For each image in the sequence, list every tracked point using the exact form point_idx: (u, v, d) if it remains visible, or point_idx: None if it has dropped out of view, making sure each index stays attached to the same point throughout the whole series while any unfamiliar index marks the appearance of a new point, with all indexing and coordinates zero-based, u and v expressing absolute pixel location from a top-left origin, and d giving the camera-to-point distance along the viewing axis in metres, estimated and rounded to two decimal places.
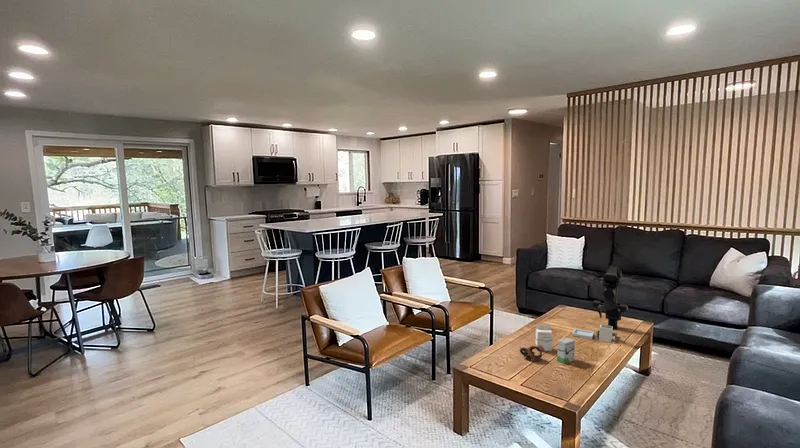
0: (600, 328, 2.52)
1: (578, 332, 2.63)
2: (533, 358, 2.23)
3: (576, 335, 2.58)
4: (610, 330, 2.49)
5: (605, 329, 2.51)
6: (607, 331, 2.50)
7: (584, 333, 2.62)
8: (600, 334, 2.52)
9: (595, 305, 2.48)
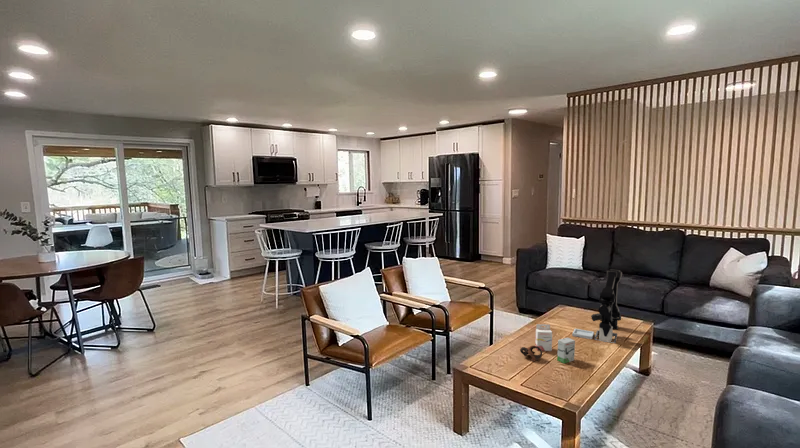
0: (600, 328, 2.52)
1: (578, 332, 2.63)
2: (533, 358, 2.24)
3: (576, 335, 2.58)
4: (610, 330, 2.49)
5: None
6: None
7: (584, 333, 2.62)
8: (600, 334, 2.52)
9: None
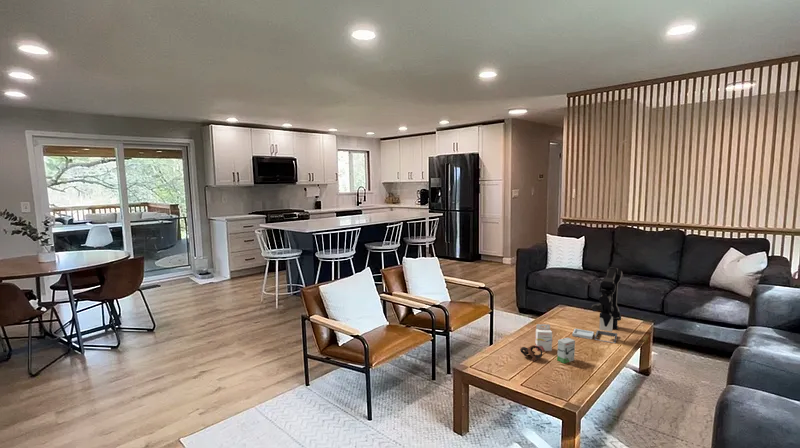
0: (600, 318, 2.51)
1: (578, 332, 2.63)
2: (534, 357, 2.24)
3: (576, 335, 2.58)
4: (610, 320, 2.48)
5: None
6: None
7: (584, 333, 2.62)
8: (601, 324, 2.52)
9: None
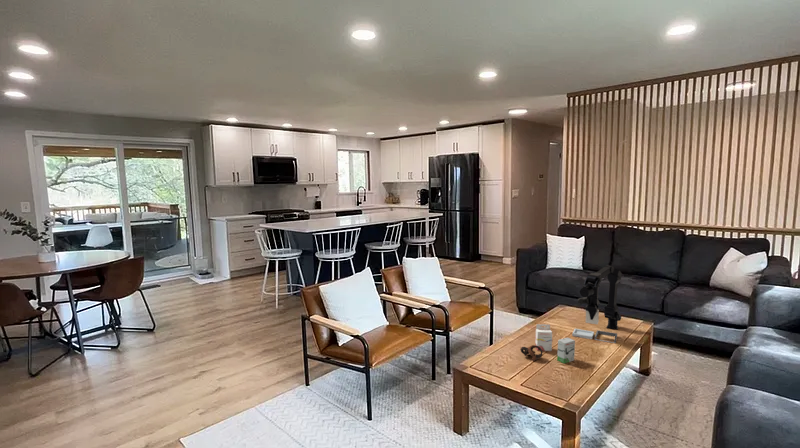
0: (586, 311, 2.55)
1: (578, 332, 2.63)
2: (534, 357, 2.24)
3: (576, 335, 2.58)
4: (596, 313, 2.52)
5: None
6: None
7: (584, 333, 2.62)
8: (587, 317, 2.55)
9: None
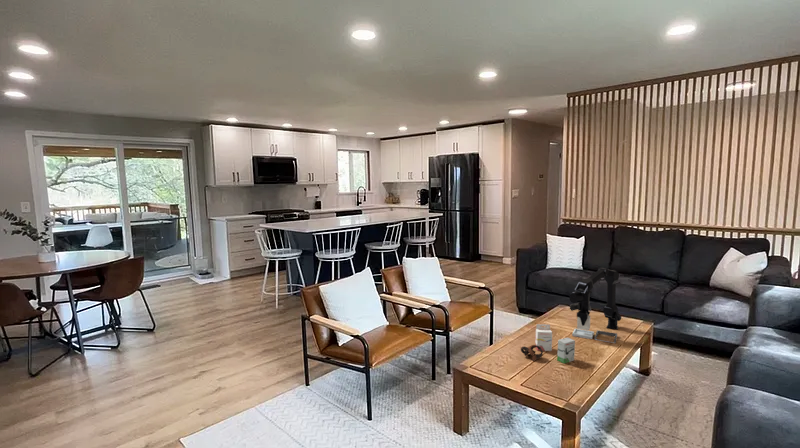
0: (578, 317, 2.59)
1: (578, 332, 2.63)
2: (534, 357, 2.25)
3: (576, 335, 2.58)
4: (587, 319, 2.56)
5: None
6: None
7: (584, 333, 2.62)
8: (578, 323, 2.59)
9: None
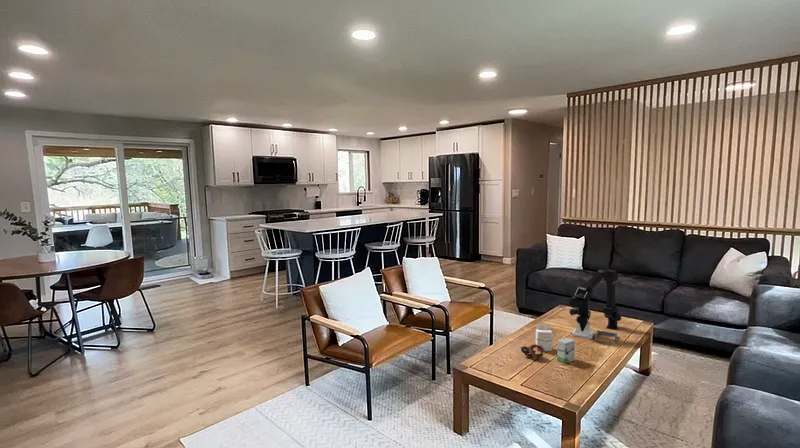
0: (578, 323, 2.59)
1: None
2: (534, 356, 2.25)
3: (576, 335, 2.58)
4: (587, 325, 2.56)
5: None
6: None
7: None
8: (578, 329, 2.59)
9: None
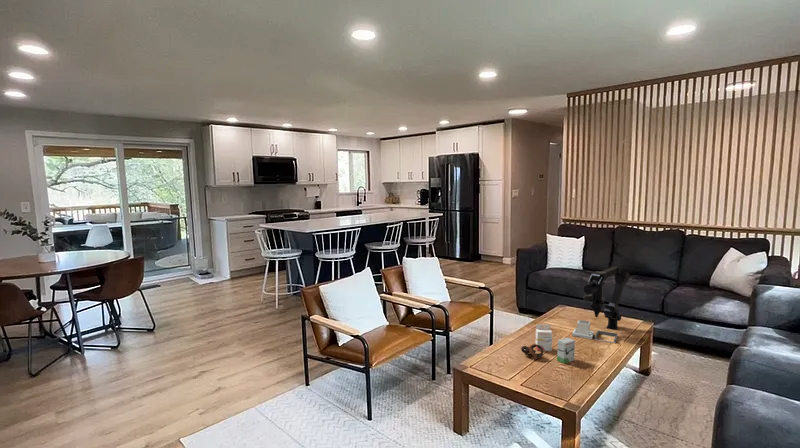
0: (578, 323, 2.59)
1: None
2: (535, 356, 2.26)
3: (576, 335, 2.58)
4: (587, 325, 2.56)
5: (582, 324, 2.58)
6: (584, 326, 2.57)
7: None
8: (578, 329, 2.59)
9: None
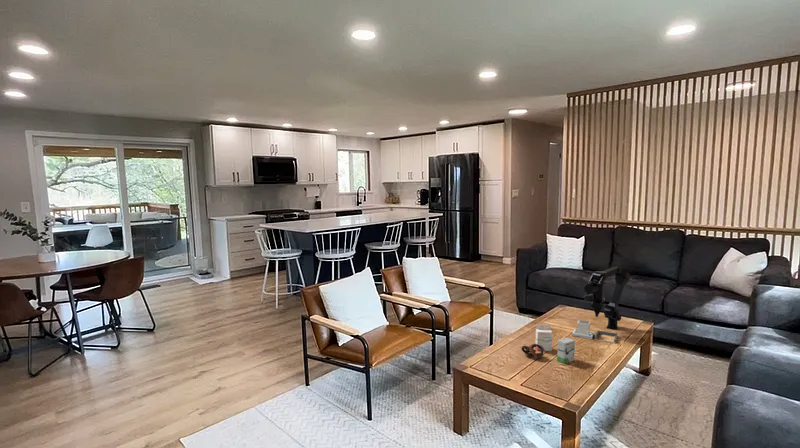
0: (578, 323, 2.59)
1: None
2: (535, 356, 2.26)
3: (576, 335, 2.58)
4: (587, 325, 2.56)
5: (582, 324, 2.58)
6: (584, 326, 2.57)
7: None
8: (578, 329, 2.59)
9: None
